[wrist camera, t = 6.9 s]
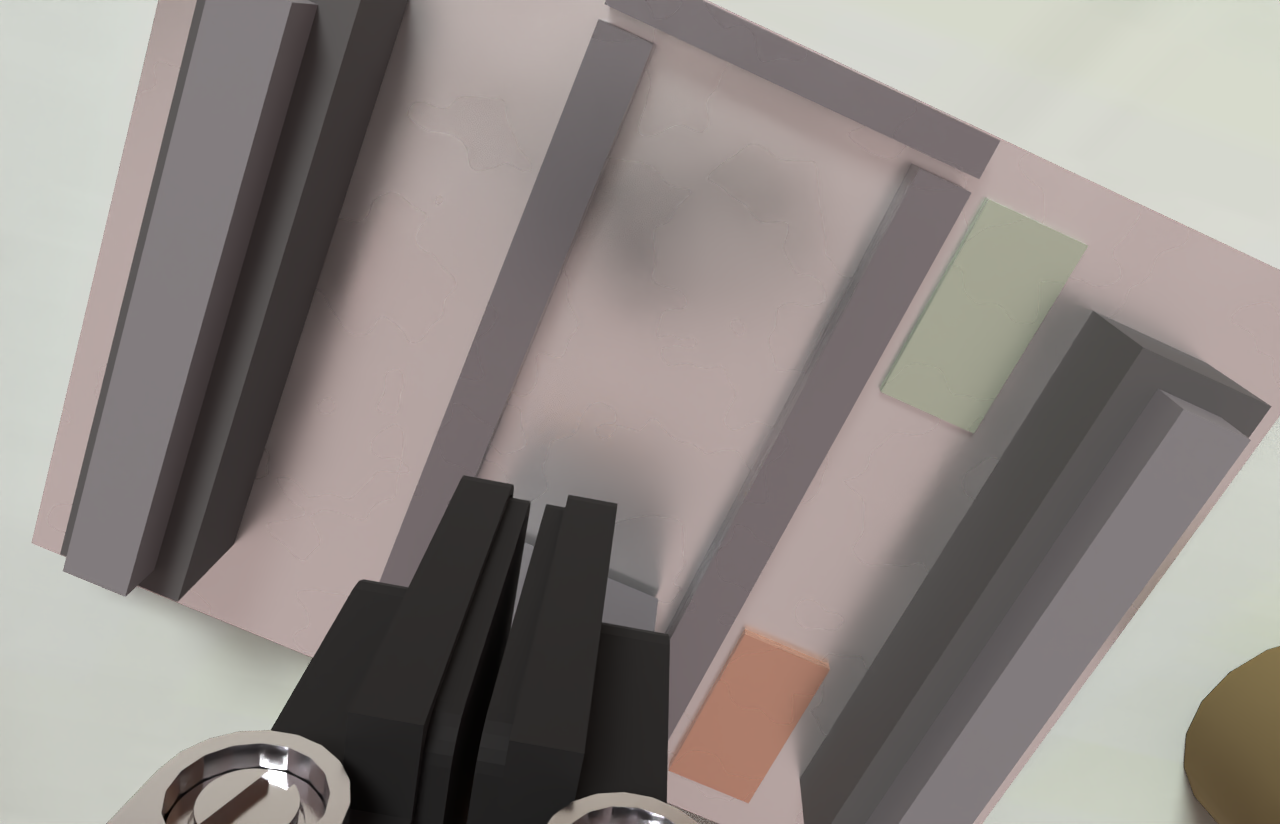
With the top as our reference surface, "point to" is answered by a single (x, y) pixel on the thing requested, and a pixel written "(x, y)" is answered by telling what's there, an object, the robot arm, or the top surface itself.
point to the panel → (675, 345)
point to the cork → (1239, 745)
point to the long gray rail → (273, 323)
